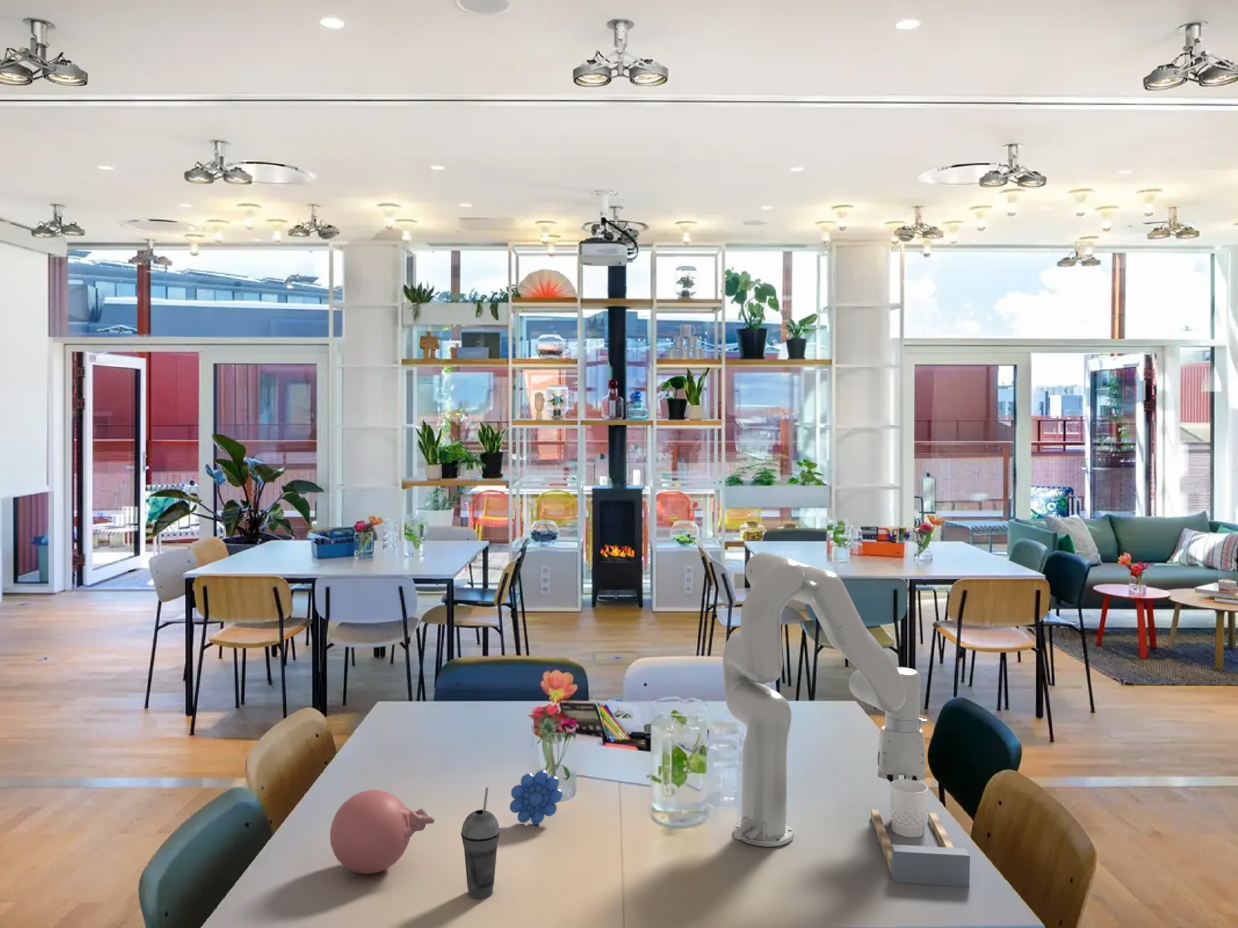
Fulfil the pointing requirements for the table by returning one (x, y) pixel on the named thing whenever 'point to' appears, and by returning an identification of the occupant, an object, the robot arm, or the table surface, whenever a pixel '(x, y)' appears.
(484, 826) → the beverage cup
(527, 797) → the blue flower ornament
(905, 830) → the white cup
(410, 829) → the balloon
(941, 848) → the end stop
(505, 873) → the table surface
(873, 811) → the guide channel
